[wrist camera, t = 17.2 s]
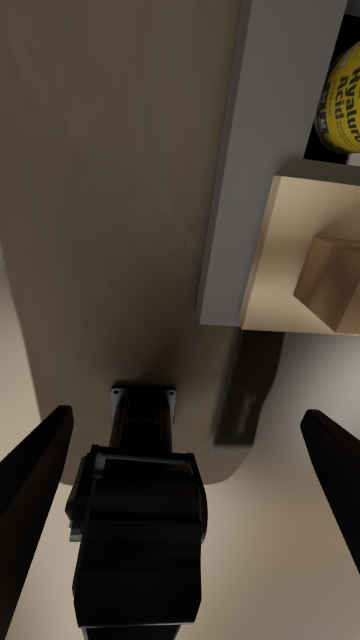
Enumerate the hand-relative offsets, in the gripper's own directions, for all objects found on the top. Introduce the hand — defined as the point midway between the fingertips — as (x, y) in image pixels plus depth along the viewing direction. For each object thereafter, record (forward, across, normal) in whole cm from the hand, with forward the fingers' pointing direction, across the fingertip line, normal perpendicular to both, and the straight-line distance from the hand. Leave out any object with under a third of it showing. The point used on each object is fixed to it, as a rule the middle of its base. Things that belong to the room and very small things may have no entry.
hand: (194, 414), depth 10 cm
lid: (+10, -10, -3) cm, 15 cm away
